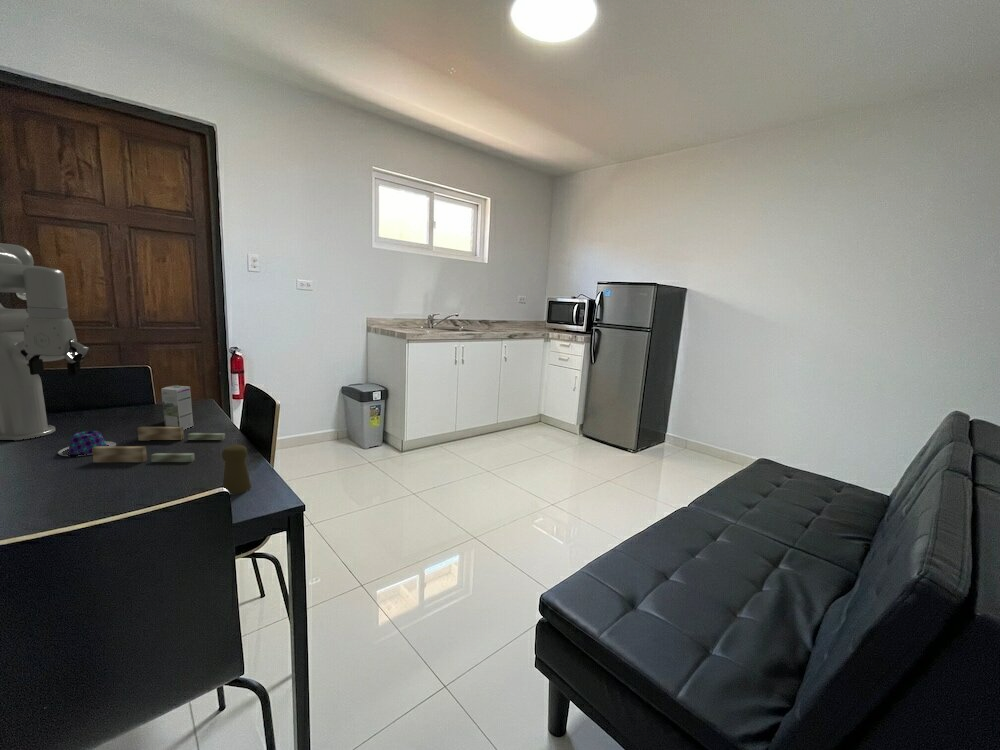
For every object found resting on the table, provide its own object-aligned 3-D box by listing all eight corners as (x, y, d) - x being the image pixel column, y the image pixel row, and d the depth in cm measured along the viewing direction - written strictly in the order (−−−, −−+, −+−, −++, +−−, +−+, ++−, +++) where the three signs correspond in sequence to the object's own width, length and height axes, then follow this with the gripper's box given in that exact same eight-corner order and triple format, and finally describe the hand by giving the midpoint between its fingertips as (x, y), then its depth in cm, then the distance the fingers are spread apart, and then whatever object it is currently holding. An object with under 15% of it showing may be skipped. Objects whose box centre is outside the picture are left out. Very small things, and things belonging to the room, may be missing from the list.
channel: (93, 462, 112) (91, 448, 111) (141, 438, 130) (140, 426, 130) (191, 461, 116) (190, 448, 115) (225, 439, 134) (224, 427, 134)
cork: (230, 483, 105) (228, 442, 103) (255, 484, 105) (253, 442, 103) (216, 494, 99) (213, 450, 97) (243, 495, 99) (241, 451, 97)
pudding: (91, 442, 126) (89, 425, 126) (127, 445, 125) (125, 428, 125) (45, 456, 115) (42, 438, 114) (85, 460, 114) (82, 442, 113)
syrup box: (194, 426, 144) (191, 385, 142) (179, 432, 138) (176, 389, 136) (179, 425, 145) (175, 384, 142) (163, 430, 139) (160, 388, 136)
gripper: (-2, 312, 109) (8, 375, 113) (70, 317, 111) (77, 379, 114) (28, 310, 117) (36, 370, 120) (95, 315, 118) (100, 374, 121)
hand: (56, 375), depth 117 cm, fingers open, 9 cm apart
